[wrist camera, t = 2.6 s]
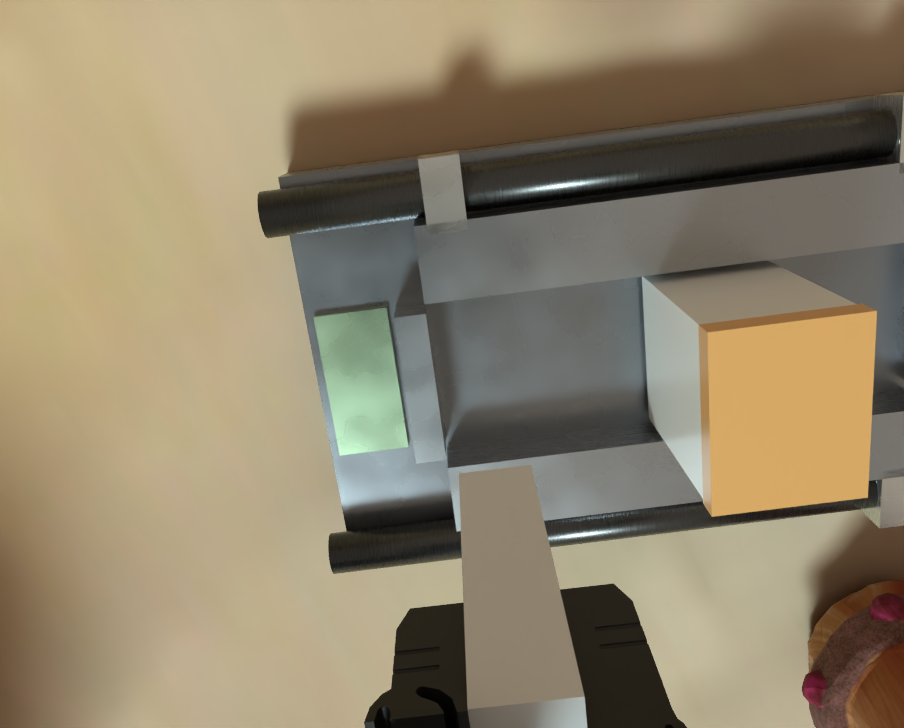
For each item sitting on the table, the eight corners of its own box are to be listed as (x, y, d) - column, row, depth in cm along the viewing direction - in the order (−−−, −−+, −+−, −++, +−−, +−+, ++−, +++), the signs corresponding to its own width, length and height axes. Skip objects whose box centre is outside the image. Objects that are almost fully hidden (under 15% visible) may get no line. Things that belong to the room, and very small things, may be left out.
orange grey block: (647, 419, 27) (711, 516, 21) (640, 274, 25) (707, 332, 19) (767, 404, 27) (868, 497, 21) (767, 257, 25) (876, 310, 19)
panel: (344, 546, 30) (335, 594, 28) (271, 171, 26) (250, 181, 23) (997, 466, 30) (1058, 506, 27) (1039, 70, 25) (1118, 66, 22)
